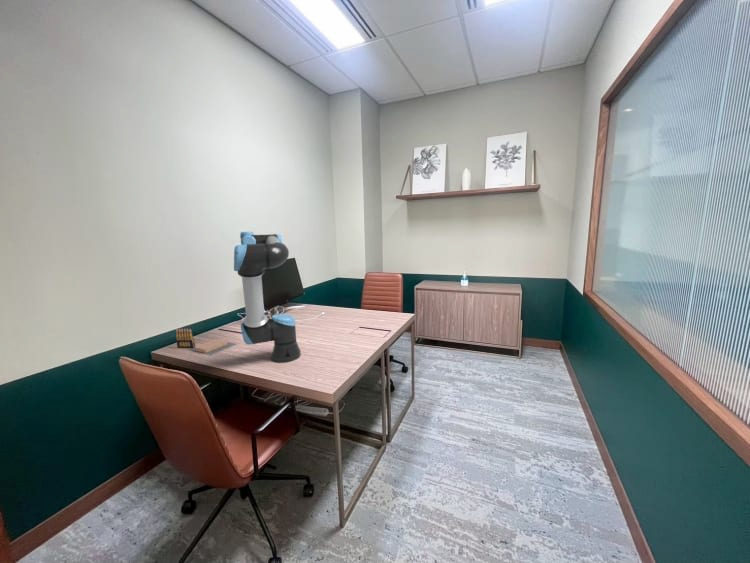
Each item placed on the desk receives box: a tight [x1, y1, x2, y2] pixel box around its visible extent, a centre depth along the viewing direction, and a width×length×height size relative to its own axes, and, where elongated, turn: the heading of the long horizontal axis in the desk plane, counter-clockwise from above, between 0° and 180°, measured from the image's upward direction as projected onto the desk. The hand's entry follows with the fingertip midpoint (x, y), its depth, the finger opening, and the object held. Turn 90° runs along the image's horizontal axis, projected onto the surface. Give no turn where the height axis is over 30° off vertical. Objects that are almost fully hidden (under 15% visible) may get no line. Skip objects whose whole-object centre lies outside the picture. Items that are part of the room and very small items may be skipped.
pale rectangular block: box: [194, 338, 228, 353], centre depth 175 cm, size 10×2×14 cm
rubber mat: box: [188, 341, 238, 356], centre depth 177 cm, size 20×18×1 cm
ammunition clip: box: [175, 328, 196, 349], centre depth 176 cm, size 11×2×12 cm, turn 82°
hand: (253, 295), depth 182 cm, fingers closed
